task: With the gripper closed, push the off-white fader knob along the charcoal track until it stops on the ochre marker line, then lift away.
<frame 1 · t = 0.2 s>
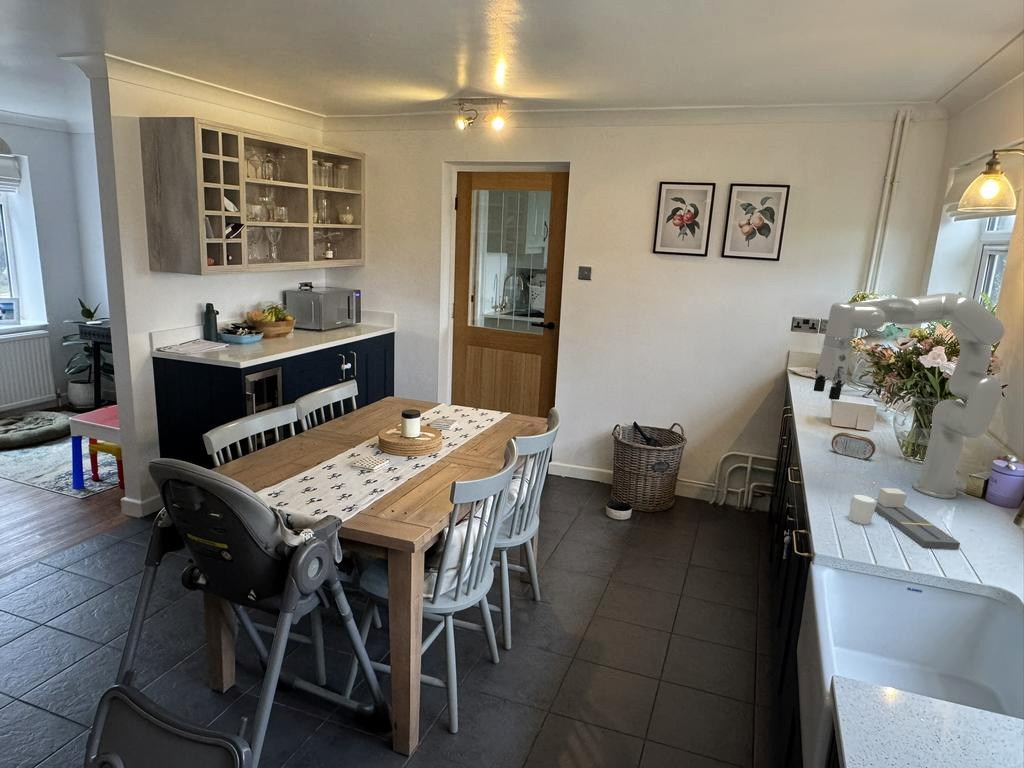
hand: (825, 395, 218), 31 cm above the worktop, tool pointing down, fingers open, 9 cm apart
fader knob: (891, 497, 208), point 4 cm above the worktop, slide at 0.0 cm
white cylinder: (859, 520, 200), on the worktop
fader track: (908, 525, 199), on the worktop
tin: (850, 457, 259), on the worktop
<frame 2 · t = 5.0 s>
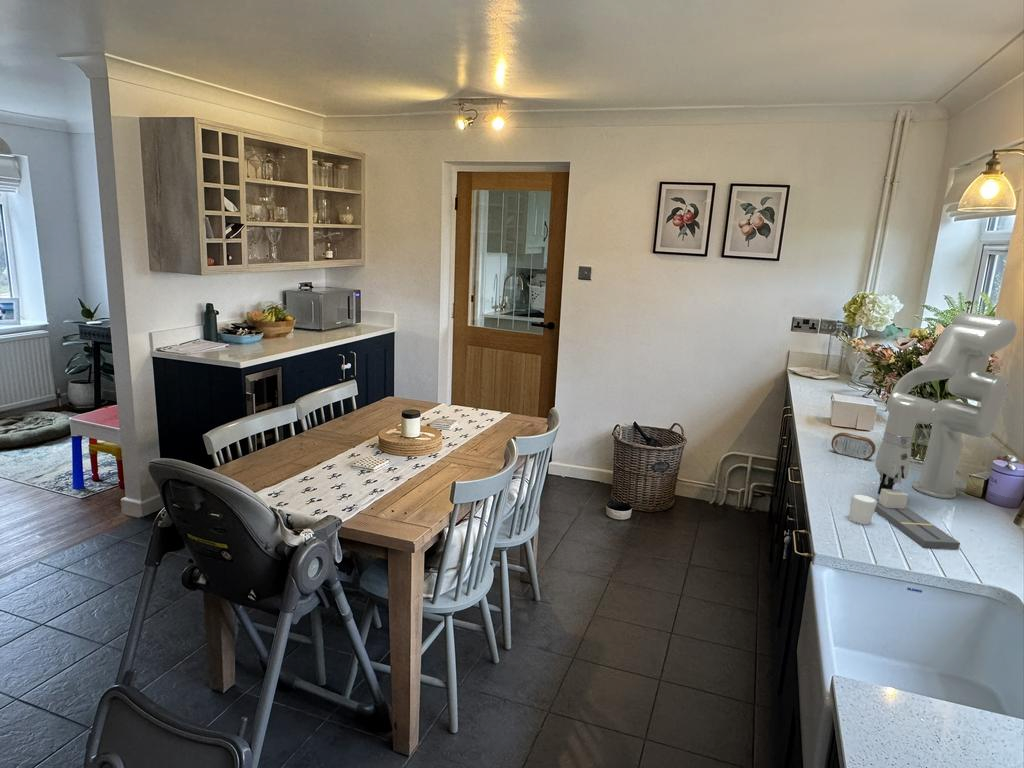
hand: (883, 495, 211), 4 cm above the worktop, tool pointing down, fingers closed
fader knob: (893, 498, 207), point 4 cm above the worktop, slide at 0.7 cm, touching gripper
everything else where it was.
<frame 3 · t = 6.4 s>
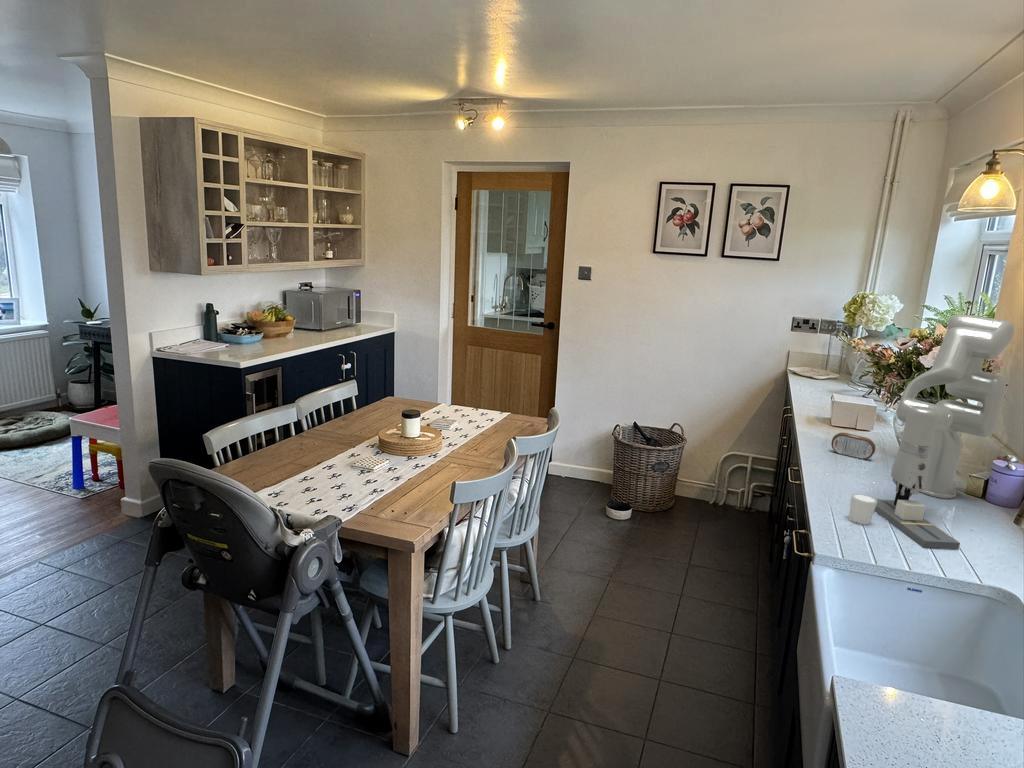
hand: (900, 506, 203), 4 cm above the worktop, tool pointing down, fingers closed
fader knob: (909, 510, 199), point 4 cm above the worktop, slide at 8.9 cm, touching gripper
everything else where it was.
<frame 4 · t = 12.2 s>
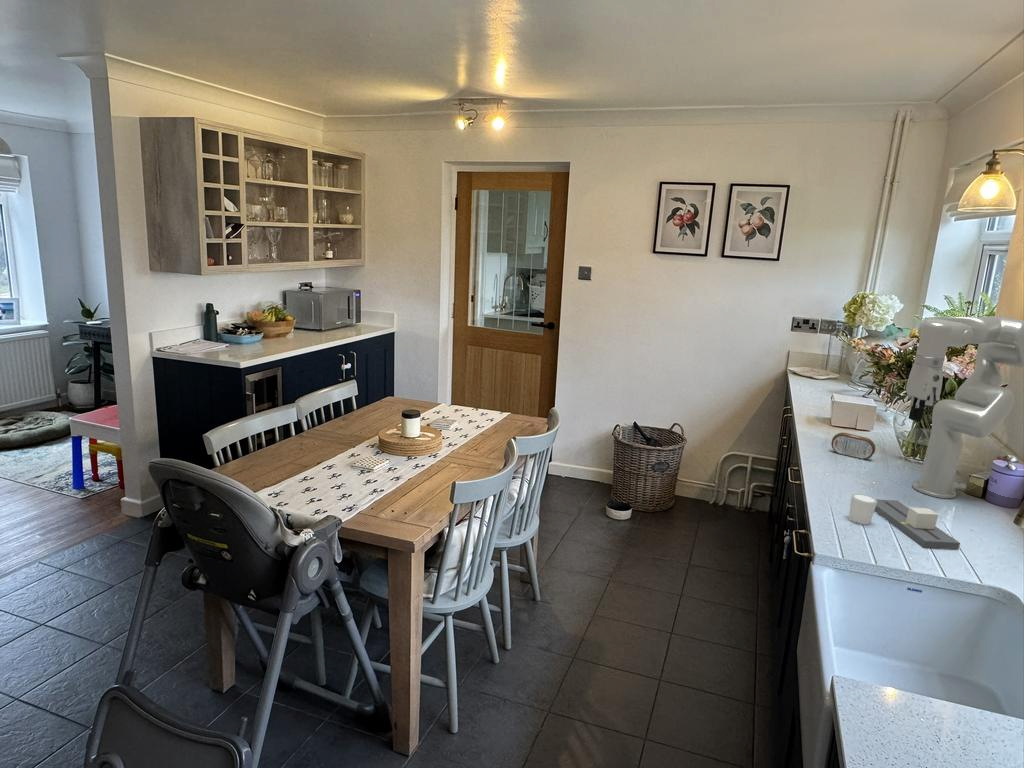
hand: (914, 419, 211), 27 cm above the worktop, tool pointing down, fingers closed
fader knob: (921, 518, 194), point 4 cm above the worktop, slide at 14.3 cm
everything else where it was.
at the end: fader knob slide at 14.3 cm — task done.
